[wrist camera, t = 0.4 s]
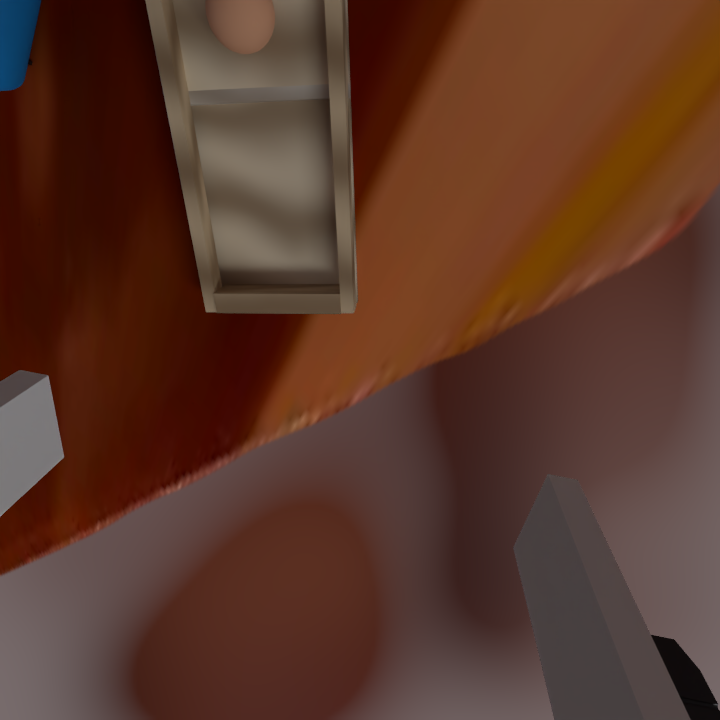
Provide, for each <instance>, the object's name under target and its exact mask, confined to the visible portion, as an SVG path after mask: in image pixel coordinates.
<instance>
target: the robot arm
mask: <svg viewBox="0 0 720 720" xmlns="http://www.w3.org/2000/svg"><path fill="white" fill-rule="evenodd" d="M63 458H64V454H63V449H62V444H61V439H60V434H59V429H58V423H57V418H56V413H55V408H54V403H53V398H52V393H51V388H50V382H49V377H48V375H43V374H38V373H33V372H28V371H23V370H19V371H17V372H15V373H14V374H12V375H11V376H9V377H7V378H6V379H4V380H2V381H1V382H0V516H1V515H2V514H3V513H4V512H6V511H7V510H8V509H9V508H10V507H11V506H12V505H13V504H14V503H15V502H16V501H17V500H18V499H19V498H21V497H22V496H23V495H24V494H25V493H26V492H27V491H28V490H29V489H30V488H31V487H32V486H33V485H35V484H36V483H37V482H38V481H39V480H40V479H41V478H42V477H43V476H44V475H45V474H46V473H47V472H49V471H50V470H51V469H52V468H53V467H54V466H55V465H56V464H57V463H58V462H59V461H60V460H61V459H63ZM513 548H514V552H515V557H516V561H517V564H518V569H519V573H520V577H521V582H522V586H523V590H524V594H525V598H526V603H527V607H528V611H529V615H530V619H531V624H532V627H533V632H534V636H535V640H536V644H537V649H538V653H539V657H540V661H541V665H542V670H543V673H544V678H545V682H546V686H547V690H548V694H549V699H550V703H551V707H552V711H553V716H554V720H720V711H719V710H718V703H717V701H716V700H715V698H714V696H713V694H712V693H711V690H710V688H709V687H708V685H707V683H706V681H705V679H704V677H703V675H702V673H701V671H700V670H699V669H698V667H697V666H696V665H695V664H694V663H693V661H692V660H691V659H690V658H689V657H688V655H687V654H686V653H685V652H684V651H683V650H682V648H681V647H680V646H679V645H678V644H677V642H676V641H675V640H674V639H669V638H664V637H659V636H654V635H651V634H650V632H649V630H648V628H647V626H646V624H645V622H644V620H643V617H642V615H641V613H640V611H639V609H638V607H637V605H636V603H635V600H634V598H633V596H632V594H631V592H630V590H629V588H628V586H627V583H626V581H625V579H624V577H623V575H622V573H621V571H620V569H619V566H618V564H617V562H616V560H615V558H614V556H613V554H612V552H611V549H610V547H609V545H608V543H607V541H606V539H605V537H604V535H603V532H602V530H601V528H600V526H599V524H598V522H597V520H596V518H595V515H594V513H593V511H592V509H591V507H590V505H589V503H588V501H587V498H586V497H585V494H584V492H583V490H582V488H581V486H580V484H579V482H578V480H575V479H570V478H565V477H560V476H555V475H550V474H548V475H547V477H546V479H545V481H544V483H543V486H542V488H541V490H540V492H539V494H538V496H537V498H536V500H535V503H534V505H533V507H532V509H531V511H530V513H529V515H528V517H527V520H526V522H525V524H524V526H523V528H522V530H521V532H520V534H519V537H518V539H517V541H516V543H515V545H514V547H513Z"/></svg>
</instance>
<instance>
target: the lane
mask: <svg viewBox="0 0 720 720" xmlns="http://www.w3.org/2000/svg"><path fill="white" fill-rule="evenodd" d="M145 1H146V6H147V11H148V17H149V22H150V27H151V32H152V37H153V42H154V47H155V52H156V58H157V63H158V68H159V73H160V78H161V83H162V88H163V94H164V99H165V104H166V109H167V114H168V119H169V124H170V129H171V135H172V140H173V145H174V150H175V155H176V160H177V165H178V170H179V176H180V181H181V186H182V191H183V196H184V201H185V206H186V212H187V217H188V222H189V227H190V232H191V237H192V242H193V247H194V253H195V258H196V263H197V268H198V273H199V278H200V283H201V288H202V294H203V299H204V304H205V309H206V312H217V313H285V314H341V313H354V311H355V308H356V303H357V302H358V292H357V264H356V235H355V207H354V179H353V150H352V122H351V94H350V65H349V37H348V9H347V0H272V2H273V6H274V11H275V26H274V30H273V34H272V36H271V38H270V40H269V42H268V43H267V44H266V46H264V47H263V48H262V49H261V50H260V51H258V52H255V53H252V54H239V53H236V52H233V51H231V50H229V49H228V48H226V47H225V46H224V45H223V44H222V43H220V41H219V40H218V39H217V38H216V36H215V35H214V33H213V32H212V30H211V28H210V25H209V23H208V19H207V15H206V8H205V1H206V0H145Z"/></svg>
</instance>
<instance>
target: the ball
mask: <svg viewBox="0 0 720 720" xmlns="http://www.w3.org/2000/svg"><path fill="white" fill-rule="evenodd" d="M205 8H206V15H207V19H208V23H209V25H210V28H211V30H212V32H213V33H214V35H215V36H216V38H217V39H218V40H219V41H220V43H222V44H223V45H224V46H225V47H226V48H228V49H229V50H231V51H233V52H236V53H239V54H252V53H255V52H258V51H260V50H261V49H262V48H263V47H264V46H266V44H267V43H268V42H269V40H270V38H271V36H272V34H273V30H274V26H275V11H274V6H273V2H272V0H206V1H205Z"/></svg>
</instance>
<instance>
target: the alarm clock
mask: <svg viewBox="0 0 720 720" xmlns="http://www.w3.org/2000/svg"><path fill="white" fill-rule="evenodd" d="M40 4H41V0H0V91H7V90H13V89H16V88H18V87H20V86H21V85H22V84H23V82H24V80H25V75H26V70H27V66H28V64H29V65H32V61H31V60H29V56H30V51H31V47H32V42H33V37H34V32H35V28H36V23H37V18H38V13H39V9H40Z"/></svg>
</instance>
